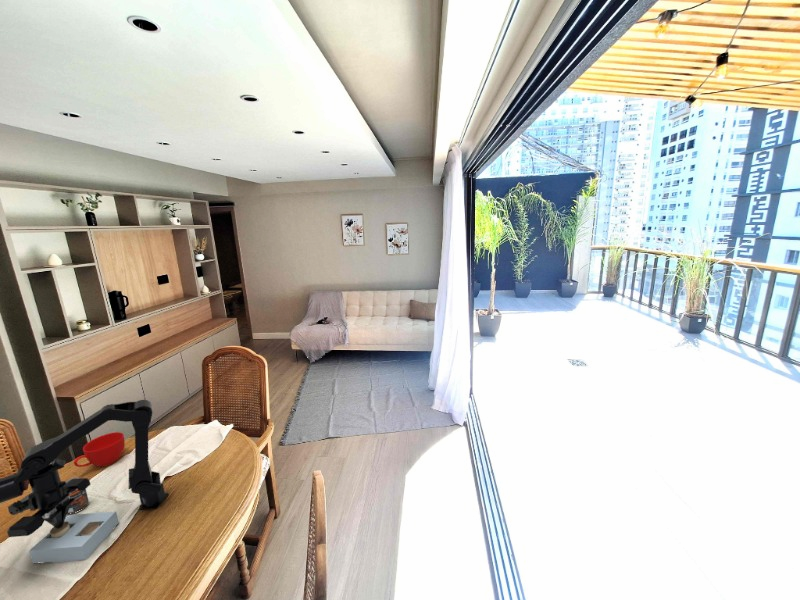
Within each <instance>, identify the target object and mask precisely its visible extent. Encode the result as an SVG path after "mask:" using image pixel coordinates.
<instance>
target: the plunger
mask: <svg viewBox="0 0 800 600" xmlns="http://www.w3.org/2000/svg"><path fill="white" fill-rule="evenodd" d="M69 529H70V526H69V522H67V521H65V522H64V523H63V526H62V527H60V528H55V527H54V526H52V528H51V529H50V530H49V533H50V534H51V537H52V538H61V537H62V536H63V535H64V534H65V533H66V532H67V531H68V530H69Z"/></svg>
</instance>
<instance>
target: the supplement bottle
mask: <svg viewBox="0 0 800 600" xmlns="http://www.w3.org/2000/svg"><path fill="white" fill-rule="evenodd" d="M72 479H79V477H72V478H70V479H68V480H66V481H65V482H66V484H67V483H68V482H69V481H70V480H72ZM69 498H70V499H74V501H73V502H72V504H71V506H70V508H69V511H68V513H67V515H71V514H70V513H74V514H76V513H75V512H77V511H79V510H81V509H82V510H83V508H84V507H85V508H86V507H87V506H88V505H89V504H88V503H89V502H90V501H89V497H88V492H87V488H86V489H85V490H84V491H78V488H77V489H76V490H75V491H74V492H73V493H72V494H70V495H69ZM85 508H84V509H85ZM82 510H81V511H82ZM79 512H80V511H79ZM77 513H78V512H77Z"/></svg>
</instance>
